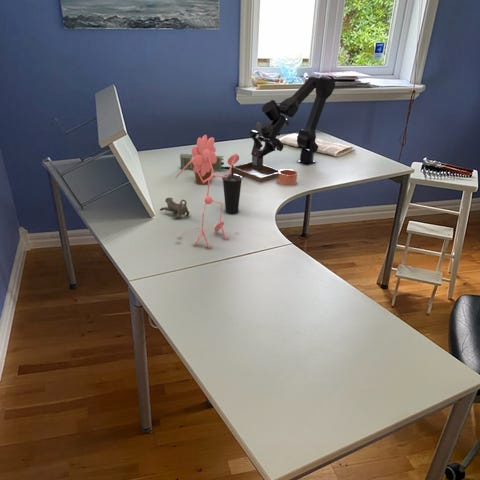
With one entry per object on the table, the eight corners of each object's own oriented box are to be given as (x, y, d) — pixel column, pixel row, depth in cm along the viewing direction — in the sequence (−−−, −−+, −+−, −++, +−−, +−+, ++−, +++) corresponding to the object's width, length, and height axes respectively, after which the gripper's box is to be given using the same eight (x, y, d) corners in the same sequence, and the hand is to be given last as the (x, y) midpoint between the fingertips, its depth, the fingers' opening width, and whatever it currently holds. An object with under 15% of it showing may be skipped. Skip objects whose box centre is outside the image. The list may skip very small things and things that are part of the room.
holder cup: (286, 178, 224) (287, 168, 221) (299, 183, 219) (301, 172, 216) (274, 182, 219) (274, 171, 217) (287, 187, 215) (288, 176, 212)
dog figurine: (192, 217, 187) (191, 198, 182) (181, 221, 183) (181, 202, 179) (169, 209, 192) (168, 190, 188) (159, 213, 189) (157, 194, 184)
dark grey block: (256, 167, 228) (256, 147, 223) (262, 169, 225) (263, 150, 220) (251, 168, 227) (251, 148, 221) (257, 171, 224) (258, 151, 218)
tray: (253, 166, 237) (253, 161, 236) (282, 177, 226) (282, 171, 224) (231, 172, 229) (231, 166, 228) (260, 183, 218) (260, 178, 216)
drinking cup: (221, 208, 194) (221, 157, 183) (240, 207, 195) (241, 157, 183) (222, 215, 188) (222, 164, 177) (242, 215, 189) (243, 163, 177)
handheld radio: (181, 166, 234) (233, 169, 232) (180, 169, 232) (232, 172, 230) (181, 153, 230) (233, 155, 228) (179, 155, 227) (233, 158, 226)
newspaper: (277, 143, 270) (278, 138, 269) (297, 136, 283) (298, 131, 281) (335, 157, 252) (336, 152, 250) (354, 149, 264) (354, 144, 262)
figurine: (242, 232, 177) (246, 131, 157) (194, 257, 160) (191, 149, 140) (210, 220, 184) (209, 123, 164) (161, 243, 168) (153, 138, 147)
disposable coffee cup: (197, 187, 213) (196, 159, 206) (189, 180, 220) (188, 153, 213) (217, 183, 216) (217, 156, 209) (208, 177, 223) (208, 150, 216)
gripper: (252, 111, 221) (233, 140, 221) (280, 120, 209) (259, 150, 210) (264, 127, 229) (246, 155, 230) (292, 136, 217) (272, 165, 218)
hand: (255, 156), depth 222 cm, fingers closed on dark grey block, 5 cm apart
